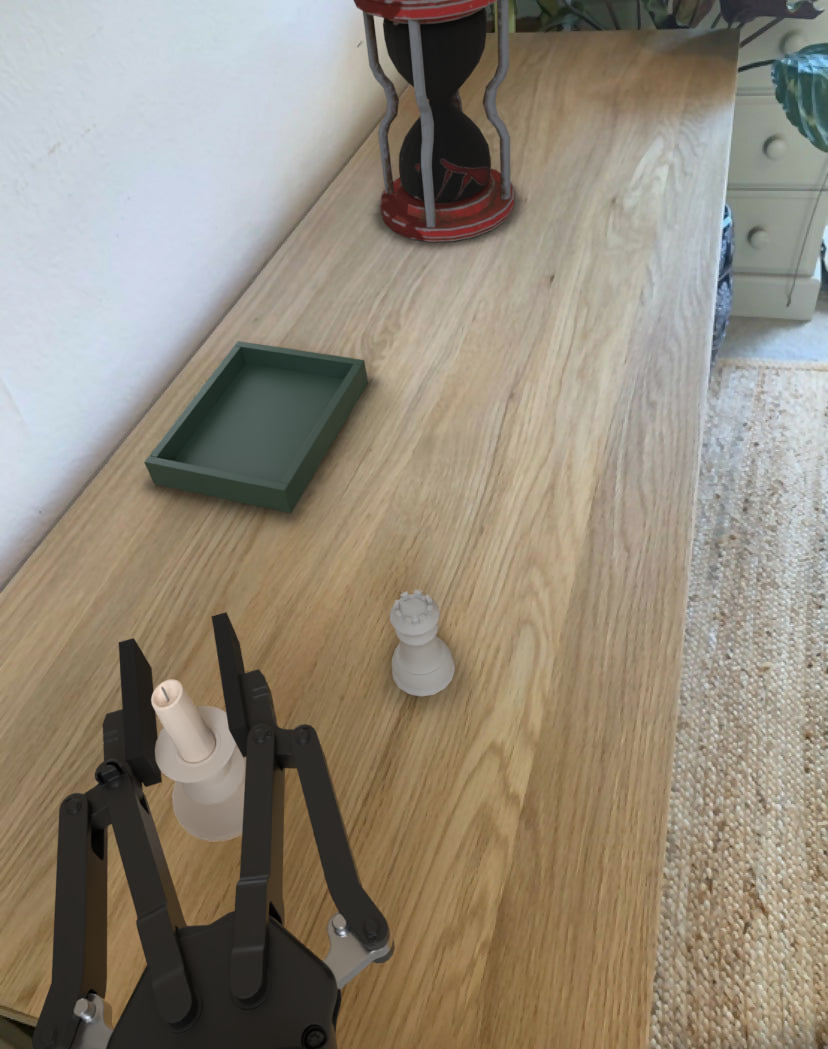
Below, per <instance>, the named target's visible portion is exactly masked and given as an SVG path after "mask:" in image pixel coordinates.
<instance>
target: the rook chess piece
mask: <svg viewBox="0 0 828 1049" xmlns="http://www.w3.org/2000/svg"><path fill="white" fill-rule="evenodd" d="M399 596H400V598H399V599H395V600H394V602H393V604H392V606H391V608H390V611H389V621H390V623H391V626H392V627H393V628H394V630H395V633H396V634H395V635H396V636H397V638H398V639H399V643H398V644H397V646H396V647H395V649H394V651H393V655H392V657H391V661H390V662H391V672H392V673H391V674H392V679H393V681H394V683H395V684H396V686H397V687H398V688H399V689H400V690H402V691H403V692H404V693H406V694H408V695H411V696H416V697H426V696H433V695H436V694H438V693H439V692H441V691H443V690H444V689H446V688H447V687H448V685H449V684H450V682H451V681H452V680H453V678H454V675H455V670H456V667H455V661H454V658H453V653H452V651H451V649H450V647H449V646H448V645H447V644H446V642H445V641H444V640H443V639H441V638H440V637H439V636H438V634H437V633H438V629H439V625H438V622H439V619H440V615H441V612H440V606H439V604H437V602H436V600H434V599H433V598H432V597H431V596H430V595H429V594H428V593H427V594H423V590H422V589H421V590H419V589H414V590H413V593H412V594H409V593H408V590H406V591H404V592H402V593H400V594H399Z"/></svg>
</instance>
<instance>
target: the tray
mask: <svg viewBox="0 0 828 1049" xmlns="http://www.w3.org/2000/svg"><path fill="white" fill-rule="evenodd" d="M367 373H368V372H367V368H366V361H365V359H360V358H354V357H346V356H341V355H335V354H334V355H333V354H327V353H320V352H313V351H307V350H300V349H294V348H286V347H282V346H281V347H280V346H274V345H267V344H261V343H254V342H247V341H241V340H237V341H236V343H235V344H234V345H233V346H232V348H231V349H230V350H229V352H228V353H227V354H226V355H225V357H224V358H223V359H222V361H221V362H220V363H219V364H218V366H217V367H216V368H215V369H214V371H213V372H212V374H210V376H209V377H208V379H207V380H206V382H205V383H203V386H202V387H201V388H200V389H199V391H198V392H197V393H196V395H195V396H194V397H193V398H192V400H191V401H190V402H189V403H188V405H187V406H186V407H185V409H184V410H183V411H182V412H181V414H180V415H179V416H178V418H177V419H176V420H175V421H174V423H173V424H172V425H171V427H169V429H168V431H167V432H166V433H165V435H164V436H163V437H162V438H161V439H160V440H159V442H158V443H157V445H156V446H155V447H154V449H153V450H152V451H151V453H150V454H149V455H148V456H147V457H146V459H145V460H144V465H145V468H146V470H147V471H148V473H149V476H150V478H151V480H152V483H153V484H154V485H156V486H161V487H164V488H168V489H169V488H170V489H174V490H180V491H183V492H189V493H193V494H199V495H203V496H208V497H211V498H217V499H223V500H226V501H232V502H234V503H235V502H236V503H239V504H245V505H249V506H255V507H260V508H264V509H269V510H274V511H277V512H283V513H287V514H292V513H293V511H294V510H295V508H296V506H297V505H298V503H299V501H300V499H301V497H302V496H303V494H304V493H305V491H306V489H307V488H308V486H309V484H310V482H311V481H312V479H313V477H314V475H315V474H316V472H317V471H318V469H319V467H320V466H321V464H322V462H323V461H324V459H325V457H326V455H327V454H328V452H329V450H330V449H331V447H332V445H333V443H334V442H335V440H336V438H337V437H338V435H339V433H340V432H341V430H342V428H343V427H344V425H345V423H346V421H347V420H348V418H349V417H350V415H351V413H352V411H353V410H354V408H355V406H356V405H357V403H358V401H359V399H360V398H361V396H362V394H363V393H364V391H365V389H366V388H367V386H368V384H369V380H368V374H367Z"/></svg>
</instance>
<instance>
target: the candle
mask: <svg viewBox="0 0 828 1049" xmlns="http://www.w3.org/2000/svg"><path fill="white" fill-rule="evenodd" d="M153 690H154V692H153V694H152V698H151V702H152V706H153V708H154V710H155V712H156V717H157V718H158V719H159V722H160V723H161V725H162V727H163V728H162V729H161V730H160V732H159V734H158V739H157V741H156V745H155V759H156V763H157V765H158V767H159V769H160V771H161V774H163V775H164V776H165V777H166V778H168V779H170V780H172V781H174V782H175V783H174V785H173V789H172V796H171V802H172V810H173V814H174V815H175V817H176V820H177V821H178V823H179V825H180V826H181V827H182V828H183V829H184V830H185V831H186V832H187V833H188V834H189V835H190V836H192V837H194V838H196V839H198V840H200V841H205V842H212V843H216V842H227V841H230V840H233V839H236V838H238V837H242V827H243V808H244V789H245V771H246V757H244V758H243V756H242V754H241V752H240V750H239V748H238V746H237V744H236V743H235V741H234V739H233V737H232V735H231V733H230V731H229V727H228V721H227V714H226V710H223V709H221V708H219V707H216V706H211V705H200V706H199V705H198V706H196V705H195V703H194V702H193V700H192V698H191V697H190V696H189V694H188V692H187V690H186V689H185V688H184V687H183V685H182V683H181V682H180V681H179V680H177V679H172V678H171V679H166V680H164V681H161V683H159V684H158V685H157V686H156V687H155V689H153Z"/></svg>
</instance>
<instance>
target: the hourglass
mask: <svg viewBox="0 0 828 1049" xmlns="http://www.w3.org/2000/svg"><path fill="white" fill-rule="evenodd" d="M353 2H354V5H355V7H356V8H357V9H359V10H360V11H361V12H362V17H363V26H364V33H365V34H364V35H365V41H366V42H365V43H366V50H367V56H368V66H369V68H370V70H371V73H372V75H373V77H374V79H375V80H376V81H377V83H378V84H379V85H380V86H381V87H382V88H383V91H384V95H385V98H386V112H385V115H384V117H383V118H382V119H381V121H380V122H379V127H378V131H377V137H378V144H379V145H378V146H379V152H380V153H379V154H380V161H381V169H382V177H383V185H384V190H383V191H382V194H381V197H380V199H379V207H380V214H381V218H382V220H383V222H384V224H385V225H386V226H387V227H388V228H389V229H390V230H392V231H393V232H394V233H396V234H398V235H401V236H402V237H406V238H408V239H411V240H417V241H423V242H429V243H440V242H456V241H461V240H467V239H471V238H476V237H478V236H480V235H483V234H485V233H488V232H490V231H494V229H496V228H497V227H498V226H500V225H501V224H503V223H504V222H505V221H507V219H509V216H510V215H511V214H512V212H513V211H514V208H515V186H514V184H513V183H512V182H511V136H510V134H509V131H508V130H509V129H508V127H507V125H506V124H505V123H504V121H503V120H502V119H501V117H500V116H499V113H498V108H497V104H496V100H497V95H498V88H500V86H501V85H502V83H503V82H504V80H506V78H507V74H508V71H509V68H510V19H509V16H510V15H509V13H510V12H509V8H510V7H509V6H510V5H509V0H353ZM494 3H496V4H497V5H496V8H497V9H496V12H497V13H496V15H497V16H496V17H497V18H496V20H497V63H498V64H497V67H496V69H495V72H494V75H493V77H492V78H491V80H490V81H489V82H488V83H487V84H486V86H485V88H484V92H483V98H482V106H483V109H484V112H485V116H486V119H487V121H488V122H489V123H490V124H491V125H492V126H493V127H494V128H495V130H496V133H497V136H498V137H499V161H500V165H499V167H500V171H498V170H497V169H494V168H492V158H491V157H492V156H491V151H490V146H489V143H488V141H487V139H486V137H485V135H484V134H483V132H482V131H481V129H480V127H479V126H478V125H477V124H476V123H475V122H474V121H473V120H472V119H471V118H470V117H469V116H468V115H467V114H466V113H465V112H463V102H462V97H461V95H460V88H461V87H463V85H464V84H465V83H466V81H467V80H468V79H469V77H471V75H472V74H473V72H474V70H475V69H476V68H477V67H478V65H479V63H480V61H481V58H482V56H483V54H484V51H485V48H486V42H487V32H488V21H487V20H488V19H487V18H488V17H487V16H488V14H487V9H486V8H487V7H489V6H490V5H493V4H494ZM375 17H378V18H382V19H383V22H382V28H383V29H382V30H383V38H384V43H385V48H386V51H387V55H388V57H389V59H390V61H391V63H392V65H393V66H394V68H395V69H396V71H397V73H398V74H399V75H400V76H401V77H402V78H403V80H405V81H406V82H407V84H409V85H410V86H411V87H412V88H413V91H414V97H415V102H416V106H417V108H418V110H419V117H418V118H417V119H416V120H415V121H414V123H413V124H412V125H411V127H410V128H409V130H408V132H406V134H405V136H404V137H403V141H402V145H401V146H400V151H399V154H398V175H399V177H397V179H394V178H393V170H392V161H391V153H390V152H391V150H390V144H389V131H390V128H391V124H392V123H393V122H394V121H395V119H396V118H397V117H398V113H399V112H398V111H399V106H400V105H399V103H400V99H399V95H398V93H397V90H396V88H395V84H394V82H393V81H392V80H391V79H390V78H389V77H388V76H387V74H385V72H384V69H383V67H382V66H381V63H380V59H379V50H378V41H377V33H376V26H375Z"/></svg>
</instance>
